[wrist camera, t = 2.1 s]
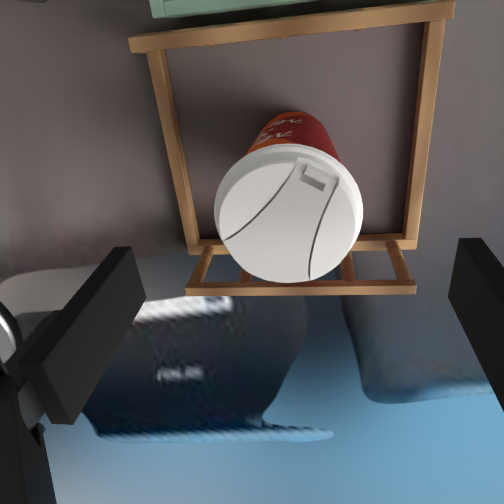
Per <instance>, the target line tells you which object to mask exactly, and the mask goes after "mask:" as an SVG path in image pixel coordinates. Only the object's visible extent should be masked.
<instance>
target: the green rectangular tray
mask: <svg viewBox="0 0 504 504" xmlns="http://www.w3.org/2000/svg"><path fill="white" fill-rule="evenodd" d="M312 1H321V0H149V2H150V8H151V13H152V17H153V18H154V19H156V18H180V17H188V16H196V15H205V14H213V13H221V12H230V11H238V10H246V9H254V8H263V7H271V6H279V5H288V4H296V3H304V2H312Z"/></svg>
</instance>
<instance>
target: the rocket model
mask: <svg viewBox="0 0 504 504" xmlns="http://www.w3.org/2000/svg"><path fill="white" fill-rule="evenodd" d="M18 1H27V2H45V1H47V0H18Z"/></svg>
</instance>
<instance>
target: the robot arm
mask: <svg viewBox="0 0 504 504" xmlns="http://www.w3.org/2000/svg"><path fill="white" fill-rule="evenodd" d="M448 298H449V300H450V302H451V304H452V307H453V309H454V311H455V313H456V315H457V317H458V319H459V321H460V323H461V325H462V327H463V329H464V331H465V333H466V335H467V337H468V339H469V341H470V344H471V346H472V348H473V350H474V352H475V354H476V356H477V358H478V360H479V362H480V364H481V366H482V368H483V370H484V372H485V374H486V376H487V378H488V381H489V383H490V385H491V387H492V389H493V391H494V393H495V395H496V397H497V399H498V401H499V403H500V405H501V407H502V409H503V411H504V267H503V266H502V265H501V263H500V262H499V261H498V259H497V258H496V257H495V255H494V254H493V253H492V251H491V250H490V249H489V248H488V246H487V245H486V244H485V242H484V241H483V240H482V238H459V241H458V246H457V252H456V257H455V262H454V267H453V273H452V278H451V283H450V288H449V294H448ZM145 299H146V295H145V292H144V288H143V285H142V282H141V278H140V275H139V271H138V268H137V264H136V261H135V258H134V254H133V251H132V247H114V248H113V249H112V251H111V252H110V253H109V254H108V255H107V257H106V258H105V259H104V260H103V261H102V263H101V264H100V265H99V266H98V267H97V269H96V270H95V271H94V272H93V273H92V274H91V276H90V277H89V278H88V279H87V280H86V282H85V283H84V284H83V285H82V286H81V288H80V289H79V290H78V291H77V292H76V294H75V295H74V296H73V297H72V298H71V300H70V301H69V302H68V303H67V304H66V306H65V307H64V308H63V309H62V310H56V311H54V312H53V313H51V314H50V315H49V316H47V317H46V318H44V319H43V320H42V321H41V322H40V323H39V324H38V326H37V327H36V328H35V329H34V332H31V334H30V335H29V336H28V337H27V340H25V341H24V342H23V343H22V335H21V332H20V329H19V326H18V324H17V322H16V320H15V319H14V317H13V316H12V314H11V313H10V312H9V310H8V309H7V308H6V307H5V306H4V305H3V304H2V303H1V302H0V504H57V503H56V499H55V493H54V488H53V483H52V477H51V472H50V467H49V462H48V458H47V452H46V447H45V442H44V437H43V432H42V428H41V426H40V425H39V423H38V421H39V420H40V418H41V417H42V415H43V414H44V412H45V413H46V414H47V416H48V418H49V420H50V421H51V423H52V424H68V425H73V424H74V423H75V420H76V419H77V417H78V416H79V414H80V412H81V410H82V409H83V407H84V405H85V404H86V402H87V400H88V398H89V397H90V395H91V393H92V391H93V390H94V388H95V386H96V384H97V383H98V381H99V379H100V378H101V376H102V374H103V372H104V371H105V369H106V367H107V365H108V364H109V362H110V360H111V358H112V357H113V355H114V353H115V351H116V350H117V348H118V346H119V345H120V343H121V341H122V339H123V338H124V336H125V334H126V332H127V331H128V329H129V327H130V325H131V324H132V322H133V320H134V318H135V317H136V315H137V313H138V312H139V310H140V308H141V306H142V305H143V303H144V301H145Z"/></svg>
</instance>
